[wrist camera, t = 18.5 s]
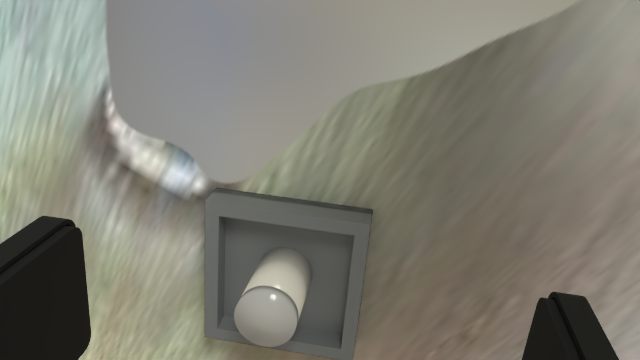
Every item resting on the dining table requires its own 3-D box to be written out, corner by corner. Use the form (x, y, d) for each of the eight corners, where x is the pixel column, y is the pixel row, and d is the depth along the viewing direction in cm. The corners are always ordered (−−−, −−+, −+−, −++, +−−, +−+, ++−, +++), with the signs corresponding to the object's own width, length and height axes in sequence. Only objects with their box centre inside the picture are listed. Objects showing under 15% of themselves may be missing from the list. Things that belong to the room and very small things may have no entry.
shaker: (312, 249, 49) (296, 295, 42) (312, 298, 50) (296, 350, 43) (257, 244, 49) (232, 289, 42) (259, 292, 51) (235, 343, 44)
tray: (372, 209, 47) (370, 224, 45) (355, 341, 53) (352, 362, 50) (216, 187, 49) (205, 201, 46) (215, 318, 54) (204, 336, 51)
